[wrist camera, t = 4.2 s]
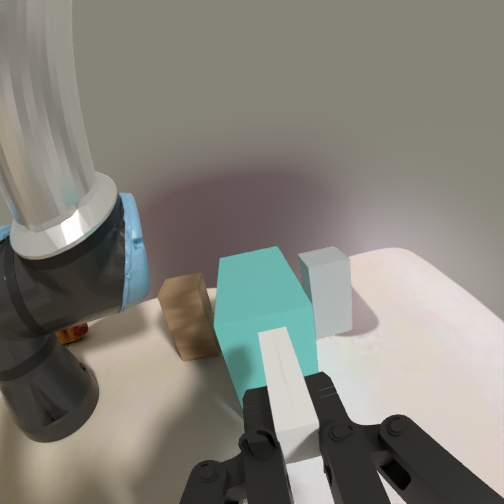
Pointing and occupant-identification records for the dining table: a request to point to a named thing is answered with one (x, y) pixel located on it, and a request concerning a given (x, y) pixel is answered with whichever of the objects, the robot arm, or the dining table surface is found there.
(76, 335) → the croissant
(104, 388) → the dining table surface
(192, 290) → the walnut block
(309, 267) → the grey block
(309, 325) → the teal block
